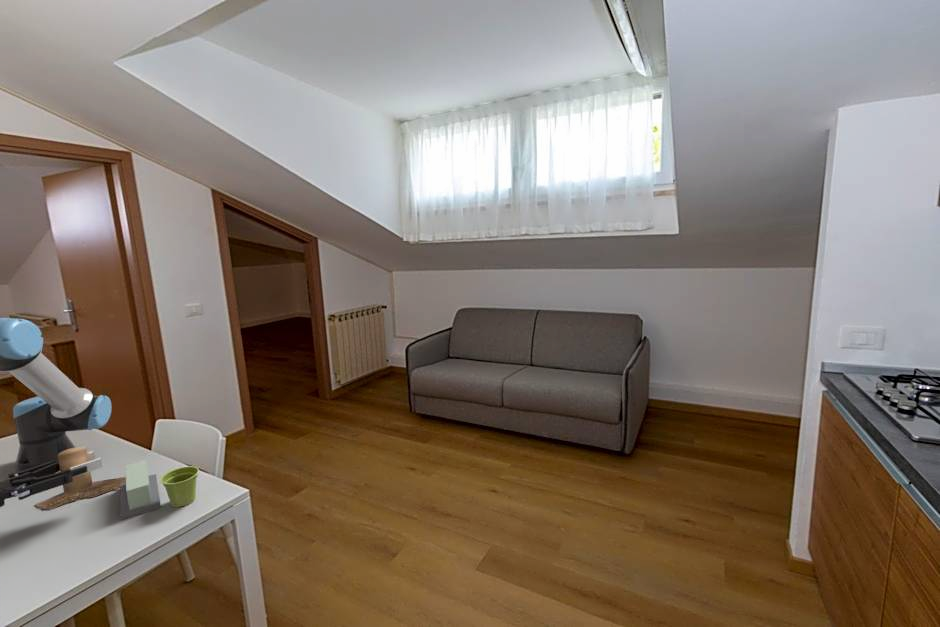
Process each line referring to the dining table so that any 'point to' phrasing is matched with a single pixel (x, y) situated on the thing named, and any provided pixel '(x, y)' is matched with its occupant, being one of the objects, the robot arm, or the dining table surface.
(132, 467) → the block
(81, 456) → the tan wooden cylinder
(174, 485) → the plant pot
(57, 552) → the dining table surface
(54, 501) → the wooden fragment
